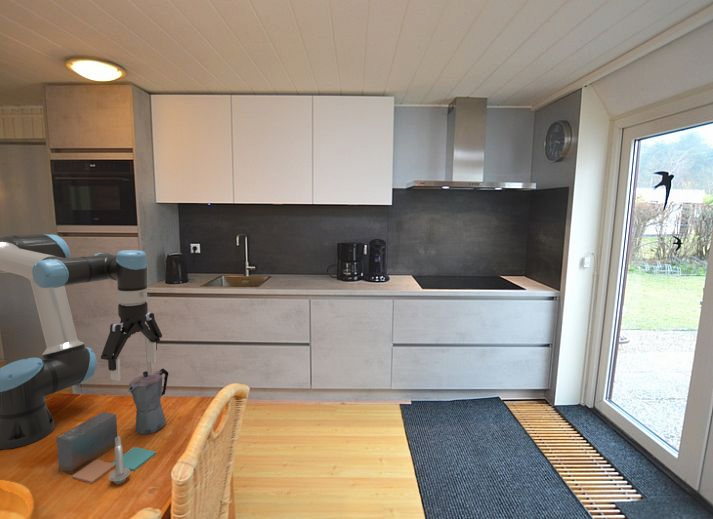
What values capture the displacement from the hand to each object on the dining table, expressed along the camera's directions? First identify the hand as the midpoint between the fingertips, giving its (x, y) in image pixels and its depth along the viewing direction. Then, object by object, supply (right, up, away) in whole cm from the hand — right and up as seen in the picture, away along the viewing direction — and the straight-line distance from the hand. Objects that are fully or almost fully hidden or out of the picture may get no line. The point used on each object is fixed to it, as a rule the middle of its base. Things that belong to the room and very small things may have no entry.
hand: (134, 370), depth 112 cm
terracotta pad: (-5, -25, -10) cm, 28 cm away
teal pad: (+3, -25, -4) cm, 25 cm away
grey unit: (-11, -24, -4) cm, 27 cm away
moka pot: (-2, -23, +12) cm, 26 cm away
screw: (+4, -26, -13) cm, 29 cm away
